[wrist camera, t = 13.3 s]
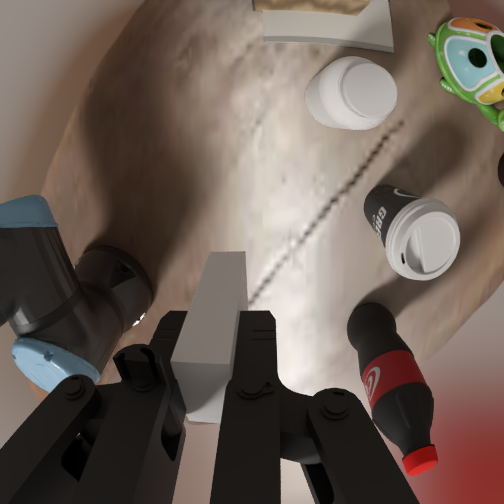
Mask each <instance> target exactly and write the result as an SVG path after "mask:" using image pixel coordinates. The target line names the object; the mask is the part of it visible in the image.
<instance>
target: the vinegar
mask: <svg viewBox="0 0 504 504" xmlns="http://www.w3.org/2000/svg"><path fill="white" fill-rule="evenodd" d="M498 176H499V180H500V182H501V184H502V185H503V186H504V155H503V156H502V157H501V159H500V162H499V166H498Z"/></svg>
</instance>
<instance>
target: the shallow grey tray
mask: <svg viewBox="0 0 504 504" xmlns="http://www.w3.org/2000/svg"><path fill="white" fill-rule="evenodd" d="M262 15H263V36H264V43H310V44H325V45H337V46H347V47H355V48H363V49H370V50H377V51H383V52H388V53H394V46H393V35H392V26H391V18H390V10H389V3H388V0H370V3H369V4H368V5H367V6H366V7H365V8H364V9H363V10H362V11H361V12H360V13H359V14H358V15H357V16H351V15H344V14H335V13H325V12H312V11H292V10H262Z"/></svg>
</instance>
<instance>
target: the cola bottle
mask: <svg viewBox="0 0 504 504" xmlns="http://www.w3.org/2000/svg"><path fill="white" fill-rule="evenodd" d="M347 335H348V339H349V341H350V343H351V345H352V346H353V347H354V348H355V349H356V350H357V351H358V359H359V369H360V376H361V379H362V382H363V383H364V387H365V390H366V393H367V397H368V400H369V404H370V407H371V411H372V421H373V422H374V424H375V425H376V426H377V427H378V429H379V430H380V431H381V432H382V433H383V434H384V435H385V436H386V437H387V438H388V439H389V440H390V441H391V442H393V443H394V444H395V445H397V446H398V447H399V448H400V450H401V451H402V453H403V455H404V457H403V458H402V461H403V464H404V467H405V470H406V472H407V474H408V475H417V474H421V473H423V472H425V471H427V470H429V469H431V468H432V467H433V466H435V465H436V464H437V462H438V457H437V453H436V449H435V445H433V444H431V442H430V428H431V425H432V419H433V411H434V399H433V397H432V392H431V390H430V388H429V387H428V386H427V384H426V382H425V380H424V377H423V375H422V373H421V371H420V369H419V367H418V365H417V363H416V361H415V359H414V355H413V353H412V351H411V350H410V348H409V347H408V346H407V345H406V343H405V342H404V341H403V340H402V338H401V337H400V336H399V335H398V334H397V332H396V322H395V319H394V317H393V315H392V313H391V312H390V311H389V310H388V309H387V308H386V307H384V306H382V305H380V304H377V303H368V304H364V305H362V306H360V307H358V308H357V309H356V310H355V311H354V312H353V313H352V314H351V316H350V318H349V320H348V324H347Z"/></svg>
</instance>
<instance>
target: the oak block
mask: <svg viewBox="0 0 504 504" xmlns="http://www.w3.org/2000/svg"><path fill="white" fill-rule="evenodd" d="M369 3H370V0H252V5H253V11H256V10H292V11H312V12H325V13H335V14H344V15H351V16H357V15H358V14H359V13H360V12H361V11H362V10H363V9H364V8H365V7H366V6H367V5H368V4H369Z"/></svg>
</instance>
